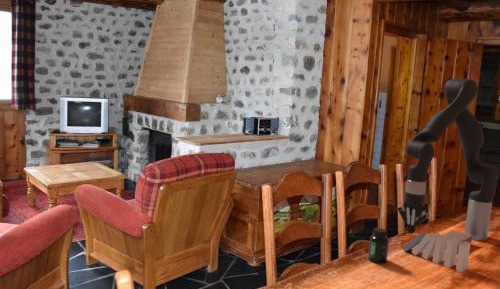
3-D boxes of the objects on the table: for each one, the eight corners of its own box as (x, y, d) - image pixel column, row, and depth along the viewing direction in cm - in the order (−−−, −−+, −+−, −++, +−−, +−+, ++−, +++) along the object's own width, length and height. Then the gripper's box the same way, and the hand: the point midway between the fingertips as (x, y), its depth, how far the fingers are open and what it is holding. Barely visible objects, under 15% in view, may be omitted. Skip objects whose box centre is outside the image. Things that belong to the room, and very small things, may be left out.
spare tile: (408, 245, 184) (425, 232, 178) (411, 249, 184) (428, 236, 178) (401, 247, 181) (418, 234, 175) (404, 252, 180) (422, 238, 174)
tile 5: (449, 262, 172) (453, 237, 170) (455, 264, 170) (458, 239, 169) (443, 266, 169) (447, 240, 167) (449, 267, 167) (452, 242, 166)
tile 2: (417, 249, 181) (432, 232, 176) (421, 252, 180) (436, 235, 175) (411, 251, 178) (425, 234, 173) (415, 255, 177) (429, 238, 172)
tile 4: (438, 258, 175) (442, 234, 173) (443, 260, 174) (447, 236, 172) (432, 261, 172) (436, 237, 170) (437, 263, 170) (441, 238, 169)
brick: (456, 254, 181) (457, 243, 181) (435, 248, 187) (436, 237, 186) (471, 245, 193) (473, 234, 192) (451, 239, 199) (453, 229, 198)
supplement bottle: (371, 263, 167) (374, 233, 165) (365, 256, 174) (368, 226, 172) (389, 264, 168) (392, 233, 166) (382, 256, 175) (385, 227, 173)
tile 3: (427, 253, 178) (437, 232, 175) (432, 256, 177) (442, 235, 173) (421, 256, 175) (431, 235, 171) (426, 259, 174) (436, 238, 170)
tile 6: (461, 266, 169) (465, 241, 167) (467, 268, 167) (470, 243, 166) (455, 270, 165) (459, 244, 164) (461, 272, 164) (464, 246, 162)
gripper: (395, 188, 180) (391, 230, 183) (426, 196, 170) (421, 240, 173) (405, 186, 185) (400, 226, 188) (436, 193, 175) (431, 236, 178)
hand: (410, 233), depth 181 cm, fingers closed
